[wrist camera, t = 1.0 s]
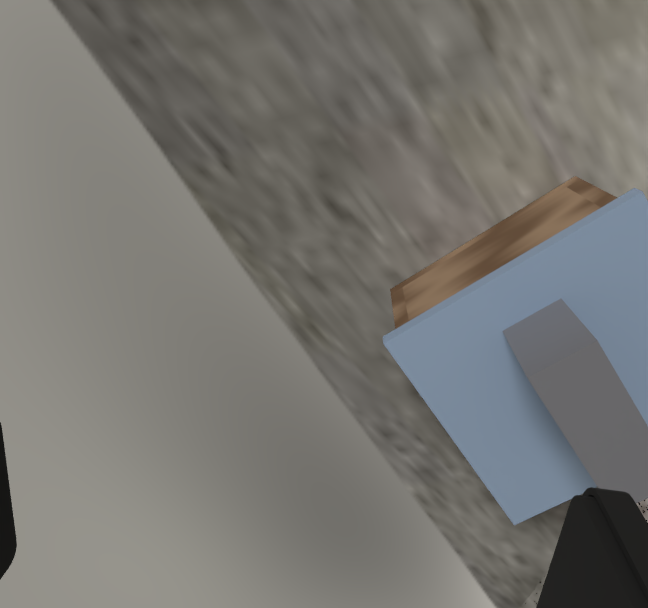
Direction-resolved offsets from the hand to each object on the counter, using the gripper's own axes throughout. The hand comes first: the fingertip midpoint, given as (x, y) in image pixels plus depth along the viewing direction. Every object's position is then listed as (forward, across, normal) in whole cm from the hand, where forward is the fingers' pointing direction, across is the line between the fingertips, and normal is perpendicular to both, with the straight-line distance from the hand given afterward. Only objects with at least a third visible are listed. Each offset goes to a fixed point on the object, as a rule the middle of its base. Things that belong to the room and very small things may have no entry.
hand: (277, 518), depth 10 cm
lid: (+21, -12, +6) cm, 25 cm away
